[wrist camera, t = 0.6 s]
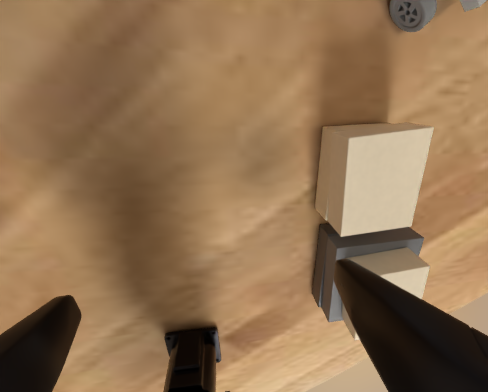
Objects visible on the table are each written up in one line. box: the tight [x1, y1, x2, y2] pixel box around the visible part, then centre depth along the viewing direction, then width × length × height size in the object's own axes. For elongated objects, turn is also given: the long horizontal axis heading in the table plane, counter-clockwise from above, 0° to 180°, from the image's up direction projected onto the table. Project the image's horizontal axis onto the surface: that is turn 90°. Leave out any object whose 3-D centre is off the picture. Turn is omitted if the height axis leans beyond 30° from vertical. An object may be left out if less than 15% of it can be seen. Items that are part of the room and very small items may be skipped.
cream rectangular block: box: [342, 247, 430, 340], centre depth 22 cm, size 8×6×3 cm
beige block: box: [315, 123, 434, 237], centre depth 19 cm, size 8×6×5 cm
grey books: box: [312, 224, 424, 322], centre depth 25 cm, size 10×9×4 cm
